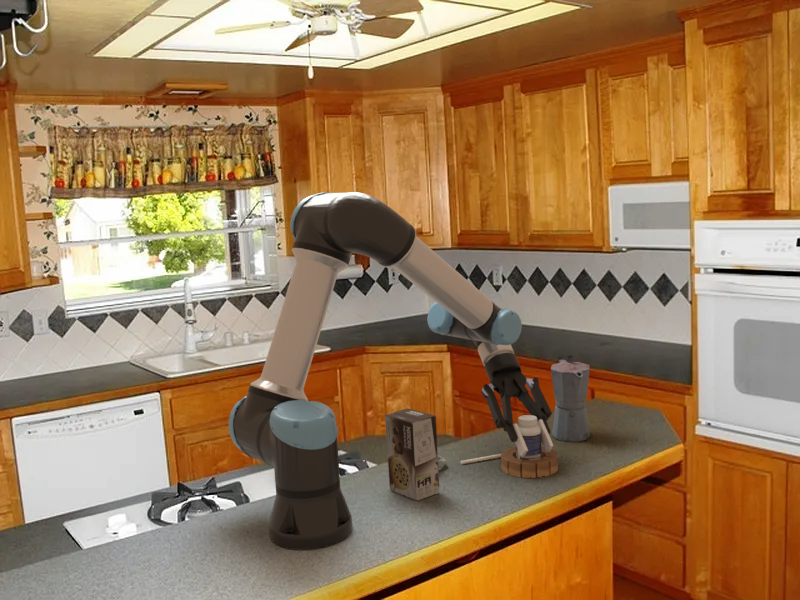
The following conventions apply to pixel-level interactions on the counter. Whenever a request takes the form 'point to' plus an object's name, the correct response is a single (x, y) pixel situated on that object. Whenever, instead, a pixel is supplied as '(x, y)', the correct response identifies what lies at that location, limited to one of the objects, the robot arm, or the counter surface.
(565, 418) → the moka pot
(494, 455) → the wooden dowel
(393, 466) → the coffee box
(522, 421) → the pill bottle
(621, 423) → the counter surface
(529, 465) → the brown segmented ring
